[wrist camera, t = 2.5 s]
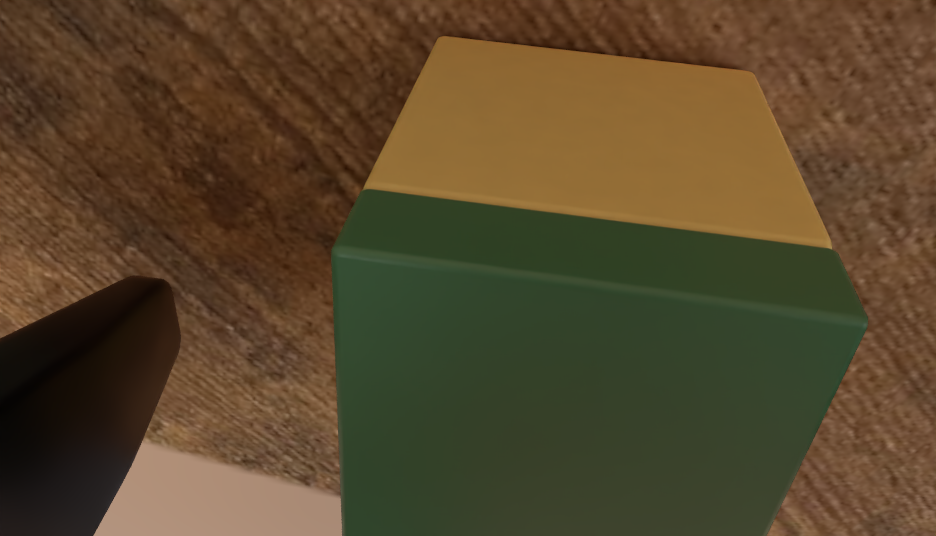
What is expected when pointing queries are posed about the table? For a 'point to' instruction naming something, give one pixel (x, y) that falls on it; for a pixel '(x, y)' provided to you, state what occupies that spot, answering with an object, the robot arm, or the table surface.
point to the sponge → (582, 304)
